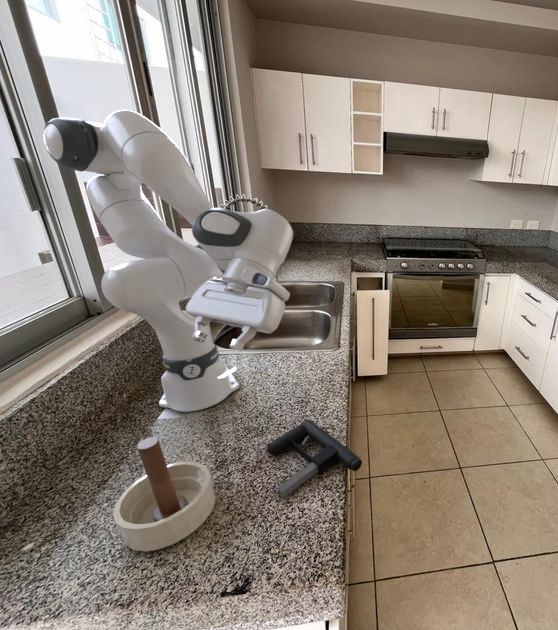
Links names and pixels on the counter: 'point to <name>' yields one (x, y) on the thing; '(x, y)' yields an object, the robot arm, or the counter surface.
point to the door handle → (316, 463)
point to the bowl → (151, 535)
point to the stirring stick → (160, 479)
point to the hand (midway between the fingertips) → (215, 345)
